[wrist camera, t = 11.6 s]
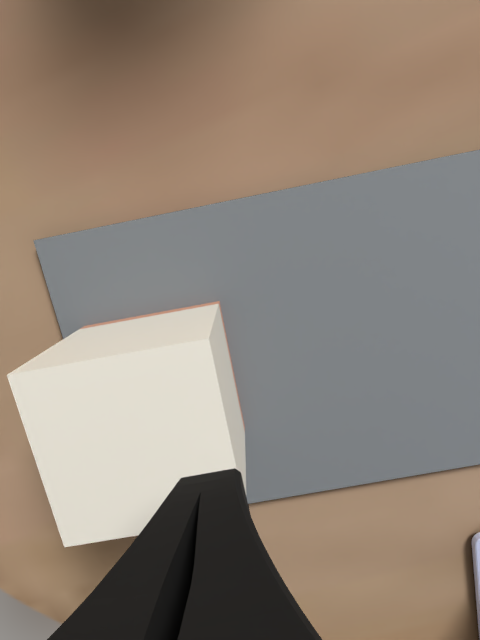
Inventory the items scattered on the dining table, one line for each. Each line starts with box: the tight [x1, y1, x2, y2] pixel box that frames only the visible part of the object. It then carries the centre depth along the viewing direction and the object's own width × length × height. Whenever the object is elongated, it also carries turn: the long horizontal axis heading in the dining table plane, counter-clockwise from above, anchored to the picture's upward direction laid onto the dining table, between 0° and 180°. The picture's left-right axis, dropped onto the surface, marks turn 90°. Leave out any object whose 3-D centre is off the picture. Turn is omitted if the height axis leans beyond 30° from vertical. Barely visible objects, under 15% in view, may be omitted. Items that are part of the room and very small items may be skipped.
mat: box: [34, 150, 480, 504], centre depth 18 cm, size 14×20×1 cm
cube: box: [7, 301, 246, 547], centre depth 15 cm, size 6×6×6 cm
